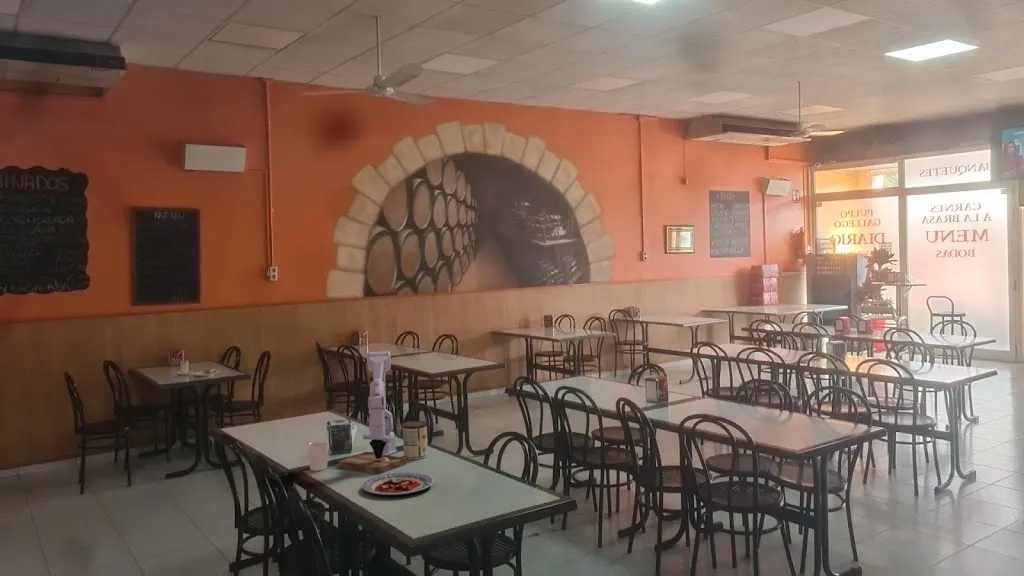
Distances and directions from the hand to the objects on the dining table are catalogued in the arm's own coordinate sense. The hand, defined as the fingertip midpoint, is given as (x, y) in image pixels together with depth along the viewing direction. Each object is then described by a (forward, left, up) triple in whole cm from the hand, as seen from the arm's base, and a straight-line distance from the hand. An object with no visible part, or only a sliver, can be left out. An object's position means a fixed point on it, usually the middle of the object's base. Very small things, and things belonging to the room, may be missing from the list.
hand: (378, 458), depth 306 cm
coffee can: (-19, +3, -4) cm, 20 cm away
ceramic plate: (+18, +25, -4) cm, 31 cm away
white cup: (+13, -21, -4) cm, 25 cm away
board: (0, -4, -3) cm, 5 cm away
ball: (0, +3, -1) cm, 3 cm away
